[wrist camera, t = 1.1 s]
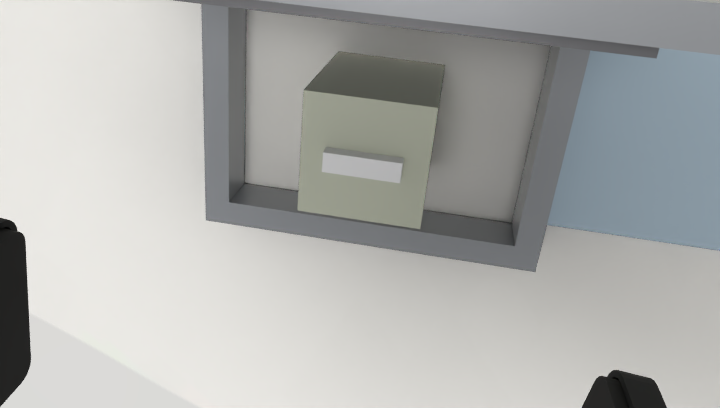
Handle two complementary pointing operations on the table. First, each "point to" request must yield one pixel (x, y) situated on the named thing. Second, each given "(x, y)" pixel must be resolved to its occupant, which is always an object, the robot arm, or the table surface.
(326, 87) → the block
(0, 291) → the robot arm
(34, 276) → the table surface
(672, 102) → the pad
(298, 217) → the case
